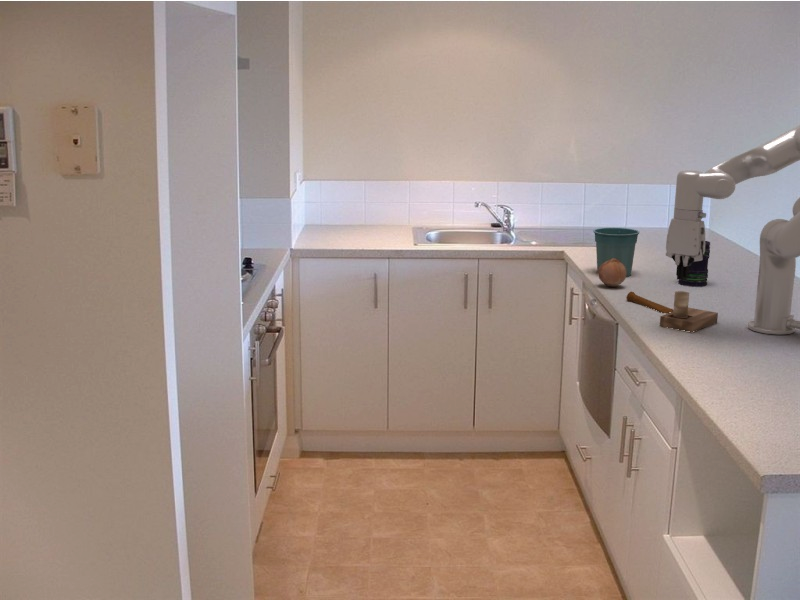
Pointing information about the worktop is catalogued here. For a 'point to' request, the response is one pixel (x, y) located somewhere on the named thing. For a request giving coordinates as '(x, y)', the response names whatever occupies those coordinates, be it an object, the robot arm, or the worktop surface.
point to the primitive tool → (647, 303)
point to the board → (690, 320)
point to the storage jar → (698, 270)
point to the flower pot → (616, 246)
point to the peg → (681, 305)
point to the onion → (612, 272)
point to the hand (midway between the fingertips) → (682, 278)
